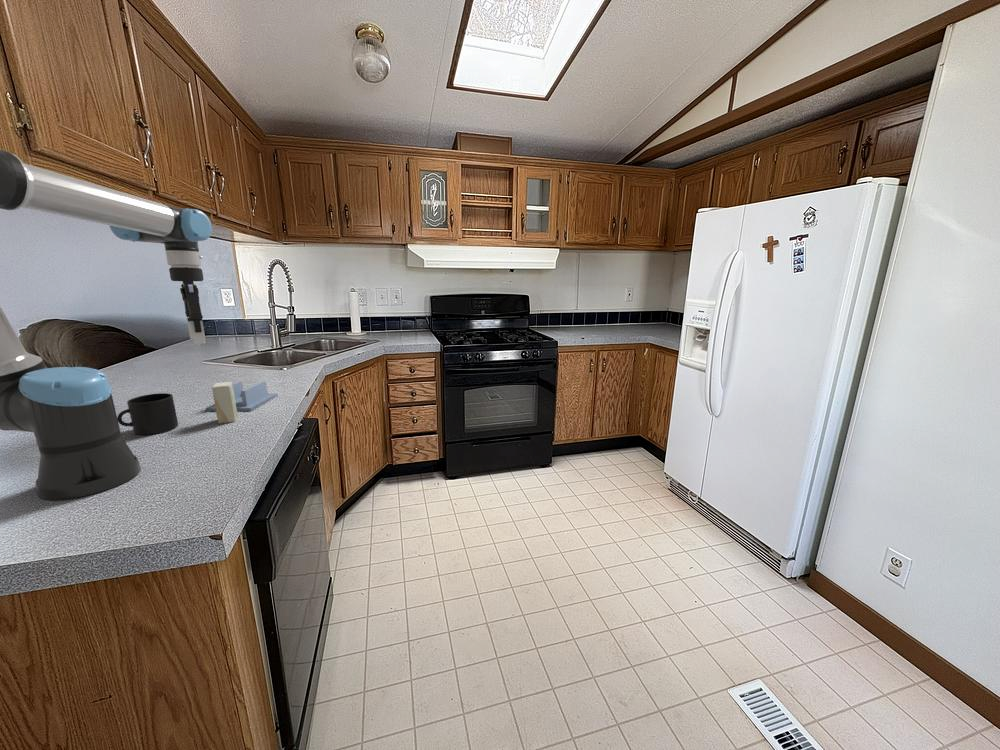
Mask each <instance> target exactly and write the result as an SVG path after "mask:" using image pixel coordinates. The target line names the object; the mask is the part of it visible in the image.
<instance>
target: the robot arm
mask: <svg viewBox="0 0 1000 750" xmlns="http://www.w3.org/2000/svg"><path fill="white" fill-rule="evenodd" d="M20 208H24V209H25V208H26V209H30V210H34V211H39V212H44V213H49V214H53V215H57V216H58V215H59V216H64V217H69V218H73V219H78V220H83V221H88V222H92V223H96V224H100V225H101V224H102V225H106V226H109V228H110V230H111V232H112V233H113V235H114V236H116V237H117V238H118V239H120V240H124V241H130V242H134V243H136V242H140V243H141V242H142V243H154V244H155V243H156V244H163V245H164V248H165V249H164V250H165V255H166V256H165V257H166V262H167V265H168V266H170V267H169V268H168V273H169V276H170V280H171V281H172V282H182V283H181V285H180V286H181V287H180V288H179V290H180V291H179V292H180V294H181V296H182V298H181V299H182V301H183V303H184V313H185V316H186V322H187V328H188V334H189V339H190V340H193V344H194V345H206V344H207V341H206V335H205V327H204V322H203V318H204V316H203V315H202V309H201V304H200V296H199V295H200V293H199V288H198V287H197V285H196V284H195V282H203V281H204V280H205V279H204V273H203V269H202V268H200V267H201V266H202V261H201V260H202V259H203V258H204V257H203V256H202V255H200V250H199V249H200V248H199V243H198V242H204V241H206V240H208V239H210V237H211V235H212V229H213V228H212V222H211V220H210V219H209V217H208V215H207V214H205V213H204V212H203V211H201V210H199V209H196V208H188V207H187V208H178V207H175V206H171V205H168V204H163V203H160V202H158V201H154V200H150V199H147V198H143V197H140V196H137V195H134V194H130V193H126V192H123V191H120V190H118V189H117V190H116V189H115V188H114V189H113V188H109V187H107V186H103V185H99V184H97V183H93V182H89V181H85V180H82V179H79V178H75V177H72V176H70V175H69V176H68V175H66V174H62V173H58V172H55V171H52V170H48V169H46V168H42V167H39V166H35V165H32V164H28V163H25V162H23V161H22V160H21V159H20V158H19V157H18V156H17V155H15V154H14V153H11V152H8V151H5V150H2V149H0V209H1V210H7V211H16V210H19V209H20ZM112 391H113V390H112V387H111V385H110V382H109V380H108V377H107V375H106V374H105V373H104V372H103V371H101V370H99V369H95V368H93V367H85V366H74V367H73V366H72V367H70V366H58V367H56V366H55V367H50V368H49V367H48V366H47V365H46V364H45V362H44V360H43V358H42V357H41V356H38V355H35V354H32V353H29V352H27V350H26V349H25V347H24V346H23V344H22V342H21V340H20V339H19V337H18V335H17V334H16V331H15V329H14V328H13V326H12V324H11V323H10V321H9V319H8V317H7V315H6V314H5V312H4V310H3V308H2V307H1V306H0V430H2V431H18V432H28V433H33V435H34V438H35V441H36V444H37V448H38V451H39V454H40V457H39V464H38V465H39V466H38V473H37V474H38V475H37V478H36V481H35V483H34V485H35V490H36V493H37V496H38V497H39V498H40V499H43V500H48V501H49V500H50V501H59V500H69V499H76V498H81V497H85V496H89V495H94V494H97V493H98V494H99V493H101V492H103V491H104V492H105V491H107V490H110V489H113V488H115V487H118V486H120V485H122V484H124V483H126V482H128V481H130V480H132V479H133V478H135V477H136V476H137V475H138V474H140V472H141V464H140V461H139V458H138V456H136V455H134V453H133V451H132V450H131V448H130V447H129V445H128V444H127V442H126V441H125V440H124V439H123V435H122V433H121V429H120V423H119V422H118V419H117V418H118V415H117V411H116V407H115V403H114V398H113V395H112V394H113V393H112Z"/></svg>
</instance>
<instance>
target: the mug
mask: <svg viewBox="0 0 1000 750" xmlns="http://www.w3.org/2000/svg"><path fill="white" fill-rule="evenodd" d="M126 404H127V407H128V408H127V409H124V410H122V411H121V412H119V414H118V415H117V419H118V423H119V425H121V426H123V427H132V429H133V430H132V431H133V433H134V434H135V435H139V436H150V435H151V436H152V435H159V434H162V433H167V432H169V431H171V430H174V429H175V428H177V427H178V426H179V421H178V416H177V411H176V407H175V401H174V396H173V394H171V393H167V392H165V393H164V392H162V393H150V394H145V395H144V394H143V395H140V396H136V397H133V398H130V399H128V400H127V401H126ZM127 413H128V414H129V416H130V422H125V421H124V420H123V416H124V415H125V414H127Z"/></svg>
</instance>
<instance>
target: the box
mask: <svg viewBox="0 0 1000 750" xmlns="http://www.w3.org/2000/svg"><path fill="white" fill-rule="evenodd" d="M232 384H233V382H232V381H224V382H223V381H222V382H215V383H214V384H213V385H212V386H211V389H212V390H211V391H212V395H213V401H214V404H215V408H216V411H215V413H216V418H217V424H227V423H235V422H236V421H237V419H238V411H237V409H236V403H235V397H234V391H233V385H232Z"/></svg>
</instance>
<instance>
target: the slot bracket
mask: <svg viewBox="0 0 1000 750" xmlns="http://www.w3.org/2000/svg"><path fill="white" fill-rule="evenodd" d="M232 385H233V391H234V397H235V403H236V409H237V412H252V411H254V410H256V409H257V408H259V407H262V406H264V405H265V404H267V403H268V402H270V401H272V400H274V399H276V398H277V397H279V395H278V393H268V387H267V381H266V380H265V381H264V380H262V381H260V382H258V383H256V384H253V385H251V386H249V387H247V388H245V389H244V387H243V381H242V380H241V381H240V380H238V381H236V382H232ZM276 396H277V397H276ZM275 397H276V398H275ZM273 398H274V399H273ZM271 399H272V400H271ZM266 402H267V403H266ZM205 412H216V408H215V403H214V404H212V405H210V406H207V407H205Z"/></svg>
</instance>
